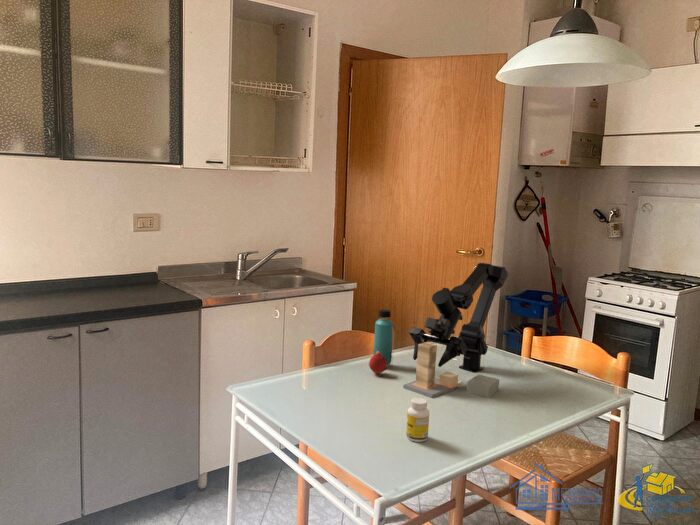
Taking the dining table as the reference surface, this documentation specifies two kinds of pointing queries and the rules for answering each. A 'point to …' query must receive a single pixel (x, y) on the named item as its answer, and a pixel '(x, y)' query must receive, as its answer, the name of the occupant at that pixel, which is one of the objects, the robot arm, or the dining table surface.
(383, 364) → the onion
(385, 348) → the beverage bottle
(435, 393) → the board
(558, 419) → the dining table surface
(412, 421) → the supplement bottle
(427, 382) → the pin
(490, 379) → the cover
